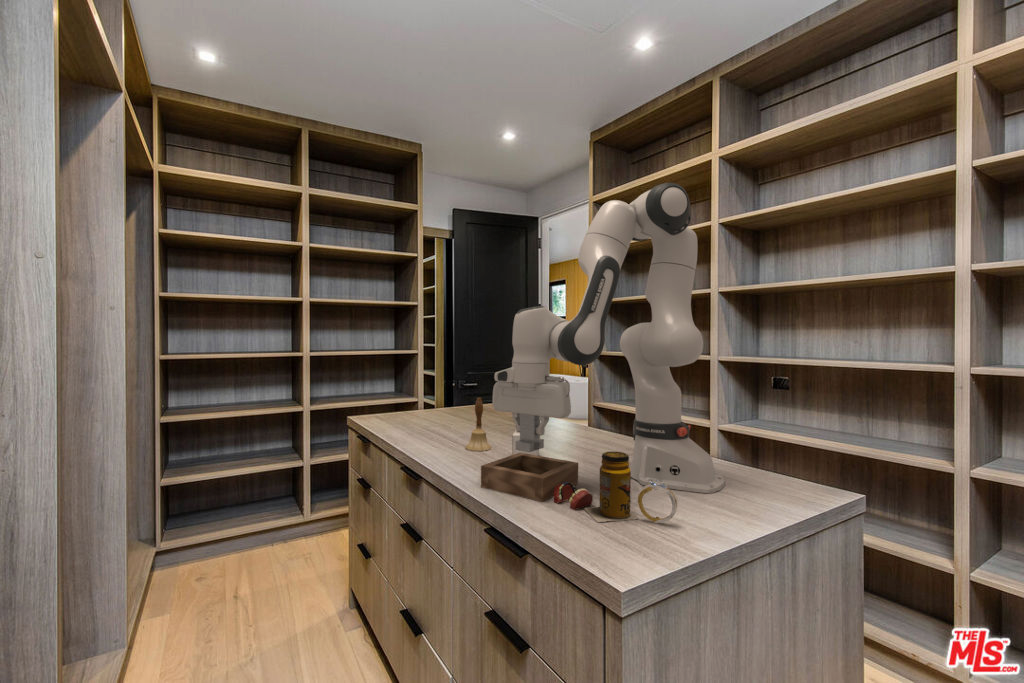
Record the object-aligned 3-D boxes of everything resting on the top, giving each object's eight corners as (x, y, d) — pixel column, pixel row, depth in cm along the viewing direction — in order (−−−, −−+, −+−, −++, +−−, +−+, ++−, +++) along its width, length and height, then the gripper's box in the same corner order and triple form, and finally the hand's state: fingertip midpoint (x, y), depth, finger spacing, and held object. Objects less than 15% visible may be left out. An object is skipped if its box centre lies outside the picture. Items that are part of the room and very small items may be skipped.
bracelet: (678, 524, 90) (678, 481, 90) (673, 530, 87) (673, 486, 87) (641, 516, 94) (642, 475, 94) (636, 521, 91) (636, 479, 91)
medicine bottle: (515, 453, 144) (515, 413, 144) (539, 454, 143) (539, 414, 143) (512, 459, 137) (512, 417, 137) (537, 460, 136) (537, 418, 136)
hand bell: (497, 448, 151) (497, 397, 151) (477, 452, 145) (477, 400, 145) (479, 444, 157) (479, 395, 157) (459, 448, 151) (460, 397, 151)
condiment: (638, 519, 92) (639, 457, 92) (597, 523, 90) (598, 459, 90) (621, 506, 99) (622, 448, 99) (583, 509, 98) (583, 450, 97)
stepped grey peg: (543, 447, 114) (544, 410, 114) (529, 452, 109) (530, 413, 109) (529, 445, 117) (530, 408, 117) (515, 449, 112) (515, 411, 112)
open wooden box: (578, 483, 115) (578, 462, 115) (542, 501, 102) (543, 478, 102) (519, 471, 125) (519, 452, 125) (480, 487, 112) (480, 465, 112)
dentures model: (578, 491, 96) (550, 482, 102) (577, 512, 96) (550, 502, 102) (596, 487, 100) (569, 478, 106) (596, 507, 100) (568, 497, 106)
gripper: (576, 376, 109) (575, 436, 110) (504, 372, 121) (503, 426, 122) (562, 378, 104) (561, 441, 104) (488, 373, 116) (488, 430, 116)
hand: (530, 433), depth 113 cm, fingers closed on stepped grey peg, 4 cm apart
